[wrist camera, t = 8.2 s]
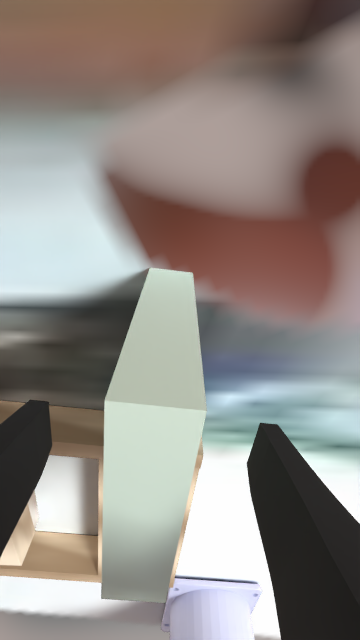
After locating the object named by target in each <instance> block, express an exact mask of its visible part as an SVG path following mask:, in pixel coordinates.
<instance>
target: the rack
mask: <svg viewBox="0 0 360 640" xmlns="http://www.w3.org/2000/svg"><path fill="white" fill-rule="evenodd" d="M24 404H25V403H21V402H11V401H1V400H0V424H1V423H2V422H3V421H5V420H6V419H7V418H8V417H9V416H11V415H12V414H13V413H14V412H16V411H17V410H18V409H19V408H20V407H22V406H23V405H24ZM49 412H50V424H51V435H52V448H51V451H50V454H49V455H58V456H69V457H80V458H91V459H99V486H98V536H91V535H78V534H65V533H52V532H39V531H35V534H34V536H33V539H32V541H31V544H30V546H29V549H28V551H27V554H26V556H25V559H24V561H23V563H22V566H13V565H0V576H14V577H28V578H42V579H56V580H70V581H85V582H99V583H102V527H103V465H104V411H102V410H92V409H82V408H72V407H61V406H51V405H49ZM202 458H203V447H202V435H201V440H200V444H199V449H198V454H197V458H196V463H195V468H194V472H193V477H192V482H191V486H190V491H189V495H188V500H187V505H186V509H185V514H184V519H183V523H182V528H181V533H180V537H179V542H178V546H177V551H176V556H175V560H174V565H173V570H172V574H171V579H170V584H169V587H170V588H173V585H174V581H175V573H176V569H177V565H178V560H179V556H180V551H181V547H182V542H183V538H184V534H185V529H186V525H187V520H188V516H189V512H190V507H191V503H192V498H193V494H194V490H195V485H196V481H197V476H198V472H199V468H200V467H201V463H202Z"/></svg>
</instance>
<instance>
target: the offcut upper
mask: <svg viewBox="0 0 360 640" xmlns="http://www.w3.org/2000/svg"><path fill="white" fill-rule="evenodd" d="M34 534H35V529H34V525H33V521H32V517H31V514H30V510H29V506H28V504H27V506H26V508H25V509H24V511H23V513H22V515H21V517H20V519H19V521H18V523H17V525H16V527H15V529H14V531H13V533H12V535H11V537H10V539H9V541H8V543H7V545H6V547H5V549H4V551H3V553H2V555H1V557H0V565H13V566H22V563H23V561H24V559H25V556H26V554H27V551H28V549H29V546H30V544H31V541H32V539H33V536H34Z"/></svg>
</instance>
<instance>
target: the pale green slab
mask: <svg viewBox="0 0 360 640" xmlns="http://www.w3.org/2000/svg"><path fill="white" fill-rule="evenodd" d="M206 412H207V409H206V399H205V389H204V379H203V369H202V359H201V350H200V340H199V330H198V320H197V310H196V301H195V291H194V281H193V273H190V272H182V271H173V270H165V269H157V268H150V269H149V272H148V275H147V278H146V281H145V283H144V286H143V289H142V292H141V295H140V298H139V301H138V304H137V307H136V310H135V313H134V316H133V319H132V322H131V325H130V327H129V330H128V333H127V336H126V339H125V342H124V345H123V348H122V351H121V354H120V357H119V360H118V363H117V366H116V368H115V371H114V374H113V377H112V380H111V383H110V386H109V389H108V392H107V395H106V398H105V402H104V465H103V527H102V590H101V599H113V600H128V601H142V602H157V603H165V602H166V597H167V593H168V588H169V584H170V579H171V574H172V570H173V565H174V560H175V556H176V551H177V546H178V542H179V537H180V533H181V528H182V523H183V519H184V514H185V509H186V505H187V500H188V495H189V491H190V486H191V482H192V477H193V472H194V468H195V463H196V458H197V454H198V449H199V444H200V440H201V435H202V431H203V426H204V421H205V417H206Z"/></svg>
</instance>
